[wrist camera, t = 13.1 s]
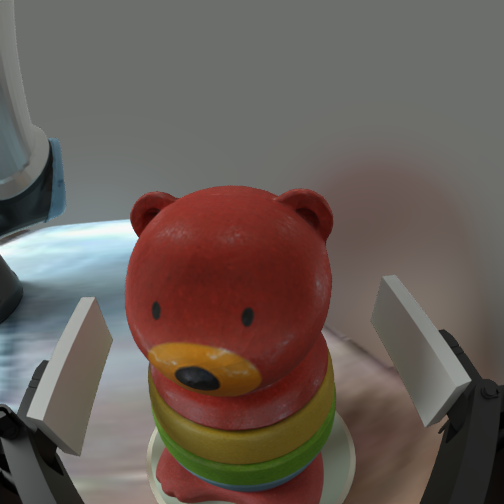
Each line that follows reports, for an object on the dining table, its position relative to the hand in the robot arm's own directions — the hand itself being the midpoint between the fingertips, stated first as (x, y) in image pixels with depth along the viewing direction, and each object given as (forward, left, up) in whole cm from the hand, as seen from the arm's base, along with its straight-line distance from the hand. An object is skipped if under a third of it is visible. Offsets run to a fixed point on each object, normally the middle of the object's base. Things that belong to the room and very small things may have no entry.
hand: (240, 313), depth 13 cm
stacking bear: (+2, -1, -12) cm, 12 cm away
